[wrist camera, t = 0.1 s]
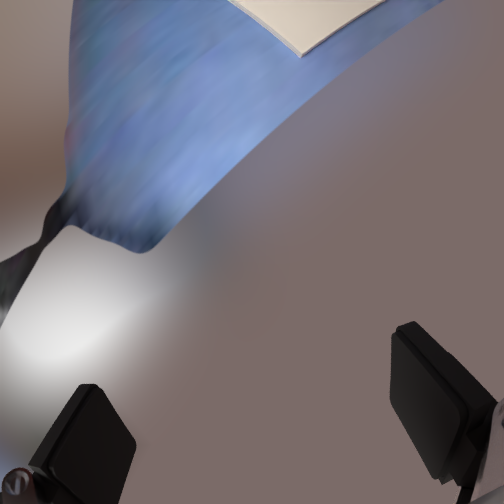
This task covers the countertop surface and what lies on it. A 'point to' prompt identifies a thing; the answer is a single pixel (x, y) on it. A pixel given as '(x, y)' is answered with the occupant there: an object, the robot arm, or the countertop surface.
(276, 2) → the white rectangular slab
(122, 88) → the countertop surface
